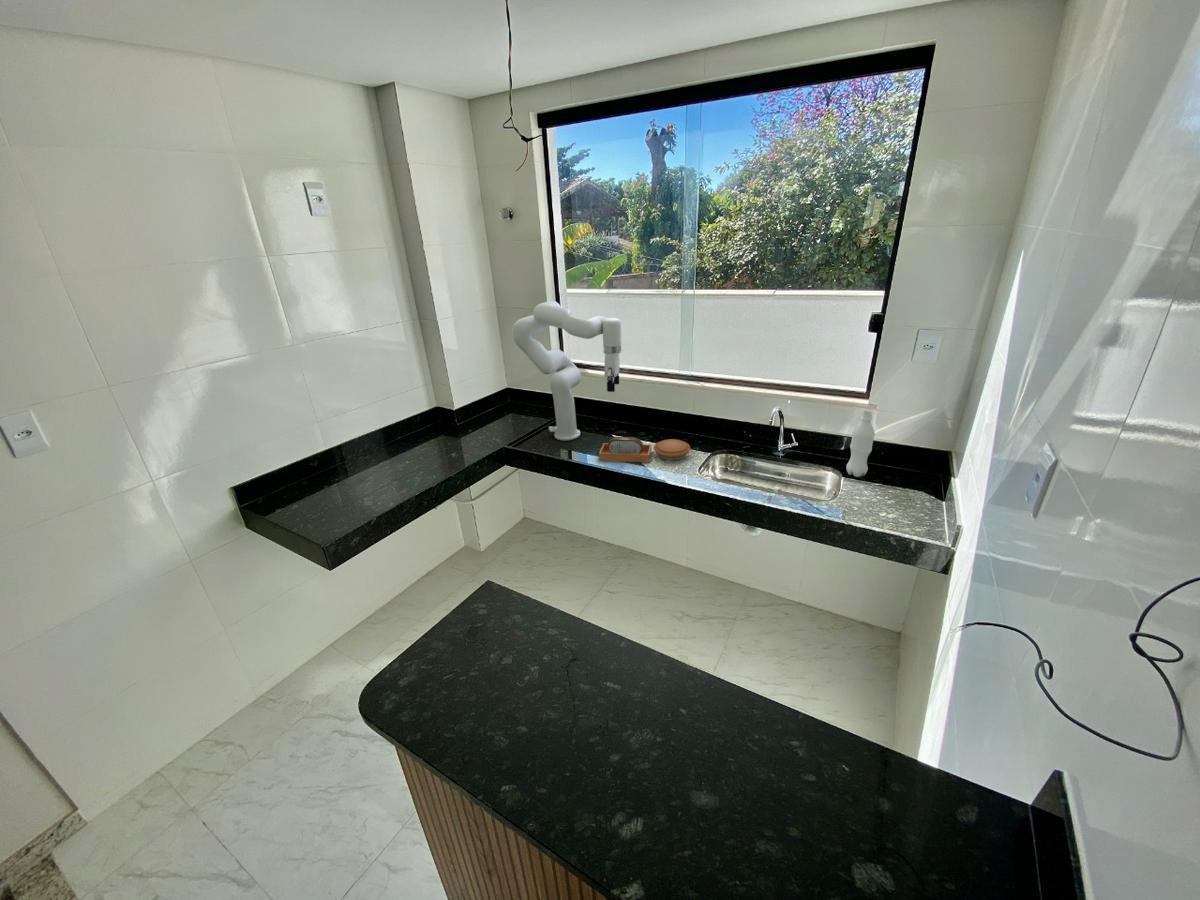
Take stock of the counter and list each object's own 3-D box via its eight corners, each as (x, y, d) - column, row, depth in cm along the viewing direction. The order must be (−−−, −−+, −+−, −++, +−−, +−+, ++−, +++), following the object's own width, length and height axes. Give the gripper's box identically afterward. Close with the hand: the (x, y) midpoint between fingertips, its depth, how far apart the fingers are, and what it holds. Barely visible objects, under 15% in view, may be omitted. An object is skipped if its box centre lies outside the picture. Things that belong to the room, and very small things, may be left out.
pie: (668, 444, 217) (668, 433, 215) (697, 453, 207) (697, 442, 205) (646, 456, 208) (646, 445, 206) (675, 466, 198) (675, 455, 196)
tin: (643, 454, 208) (643, 436, 204) (642, 457, 205) (642, 439, 202) (609, 453, 211) (608, 435, 208) (607, 456, 208) (606, 438, 205)
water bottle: (865, 470, 185) (877, 409, 175) (867, 479, 179) (880, 417, 168) (844, 468, 188) (855, 408, 177) (846, 477, 182) (857, 415, 171)
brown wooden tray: (599, 460, 207) (598, 453, 205) (604, 450, 216) (603, 443, 214) (649, 462, 202) (648, 455, 201) (651, 451, 211) (651, 444, 210)
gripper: (608, 343, 211) (609, 381, 218) (598, 354, 196) (600, 394, 203) (624, 343, 209) (625, 381, 217) (617, 354, 194) (617, 395, 202)
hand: (613, 387), depth 210 cm, fingers open, 9 cm apart
